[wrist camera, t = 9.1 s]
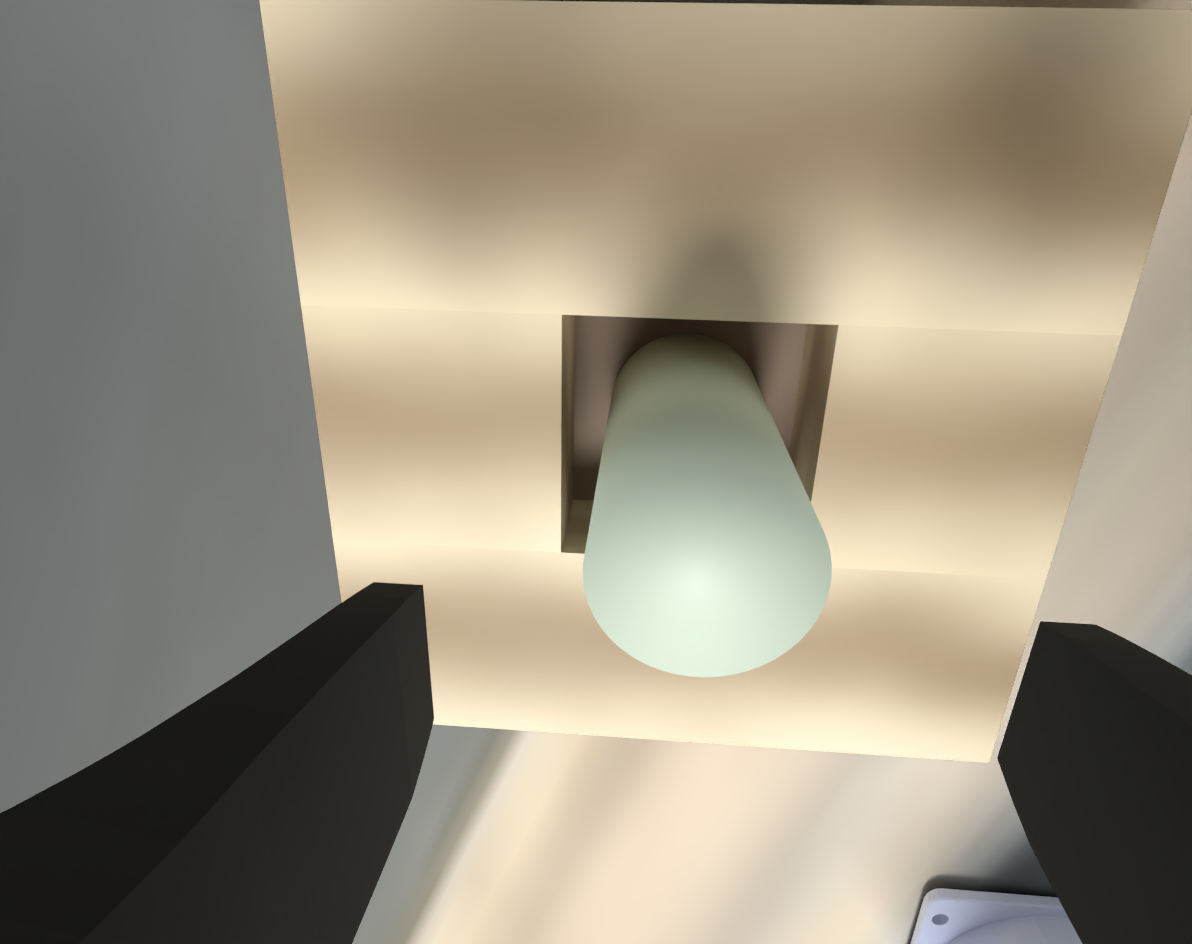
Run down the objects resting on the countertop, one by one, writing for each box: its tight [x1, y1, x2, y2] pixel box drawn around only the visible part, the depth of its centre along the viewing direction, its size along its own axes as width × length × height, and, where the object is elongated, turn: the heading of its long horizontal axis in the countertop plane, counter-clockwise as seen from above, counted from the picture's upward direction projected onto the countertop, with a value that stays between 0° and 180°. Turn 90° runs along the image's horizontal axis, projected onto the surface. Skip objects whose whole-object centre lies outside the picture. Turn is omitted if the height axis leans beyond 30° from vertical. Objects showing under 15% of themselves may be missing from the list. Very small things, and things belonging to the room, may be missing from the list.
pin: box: [583, 333, 832, 677], centre depth 14 cm, size 4×4×8 cm
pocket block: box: [259, 0, 1192, 763], centre depth 17 cm, size 16×16×3 cm
